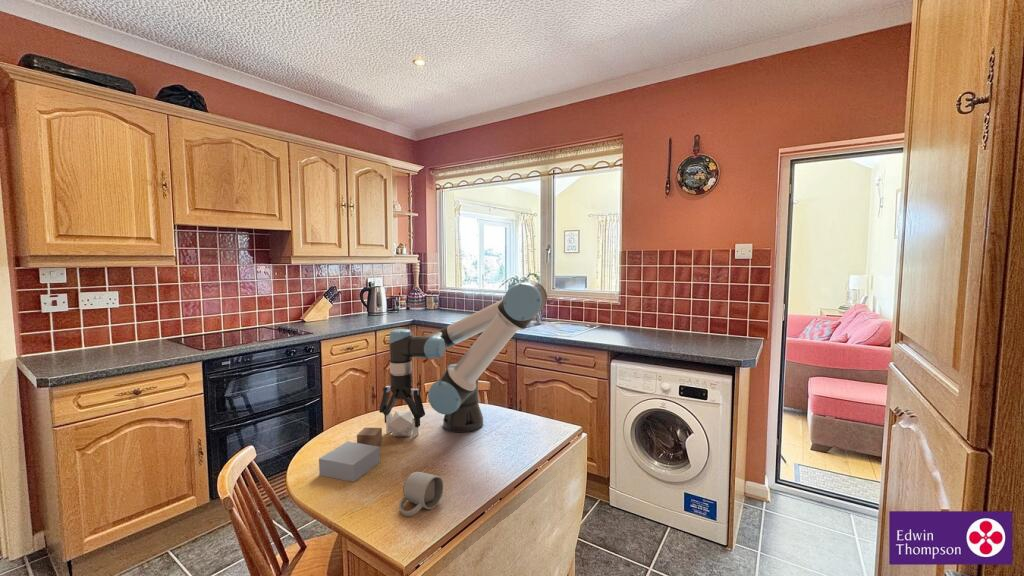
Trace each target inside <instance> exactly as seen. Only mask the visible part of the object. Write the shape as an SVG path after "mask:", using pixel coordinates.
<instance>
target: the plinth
mask: <svg viewBox="0 0 1024 576" xmlns="http://www.w3.org/2000/svg"><path fill="white" fill-rule="evenodd" d="M380 449H381V447H378V446H372V445H366V444H360V443H357V442H352V441H346V442H344V443H343V444H341V445H339V446H338V447H336V448H335V449H333V450H331V451H329V452H327V453H326V454H324V455H322V456H321V457H319V458H318V467H319V468H318V469H319V470H318V471H319V473H318V474H319V476H322V477H327V478H331V479H336V480H341V481H347V482H351V483H354V482H356V481H357V480H359V479H360V478H361V477H363V476H364V475H365V474H367V473H368V472H369V471H370V470H372V469H373V468H374V467H376V466H378V465H379V464H380V462H381V457H380V456H381V455H380V454H381V453H380V452H381V451H380Z"/></svg>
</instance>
